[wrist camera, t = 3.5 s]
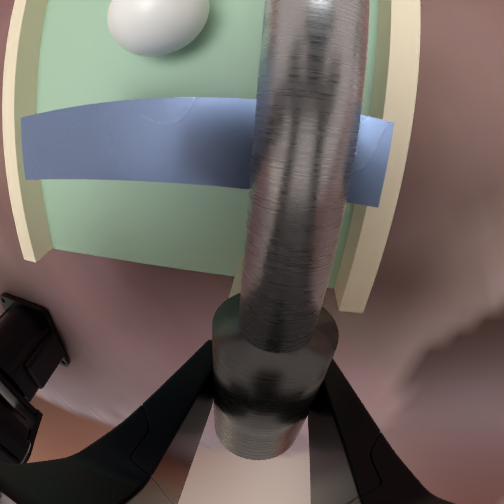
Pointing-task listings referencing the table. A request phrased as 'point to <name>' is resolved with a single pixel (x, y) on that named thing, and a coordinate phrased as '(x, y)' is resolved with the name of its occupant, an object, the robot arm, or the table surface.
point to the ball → (156, 24)
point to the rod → (254, 198)
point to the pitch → (184, 85)
